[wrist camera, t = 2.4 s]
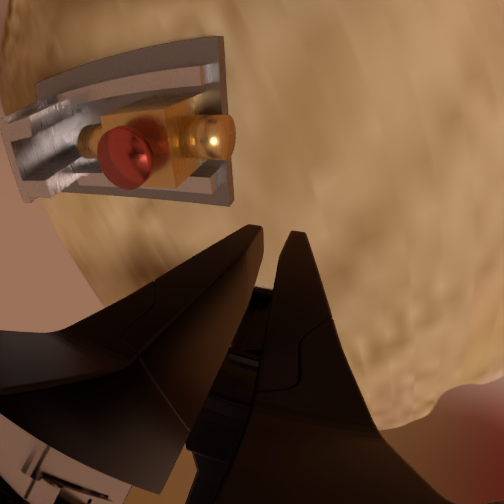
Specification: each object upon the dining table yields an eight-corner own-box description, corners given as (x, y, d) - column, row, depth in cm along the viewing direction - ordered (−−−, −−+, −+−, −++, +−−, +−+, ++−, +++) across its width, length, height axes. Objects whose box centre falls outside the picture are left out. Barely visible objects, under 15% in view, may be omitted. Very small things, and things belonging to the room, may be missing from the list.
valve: (239, 91, 16) (193, 113, 12) (242, 160, 19) (204, 204, 15) (104, 104, 19) (45, 131, 15) (114, 157, 22) (63, 193, 17)
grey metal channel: (223, 36, 15) (173, 36, 11) (234, 200, 22) (200, 248, 18) (32, 85, 20) (-15, 106, 16) (57, 187, 28) (19, 216, 23)
